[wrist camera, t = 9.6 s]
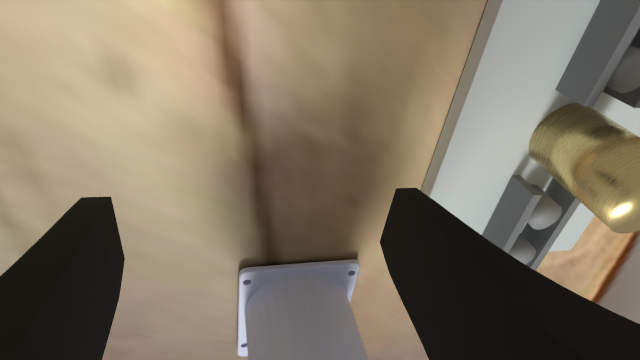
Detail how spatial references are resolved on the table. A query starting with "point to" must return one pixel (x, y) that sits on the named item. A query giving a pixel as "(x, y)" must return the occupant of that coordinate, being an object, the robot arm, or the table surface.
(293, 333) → the robot arm
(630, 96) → the chain base
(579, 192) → the pin
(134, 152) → the table surface
